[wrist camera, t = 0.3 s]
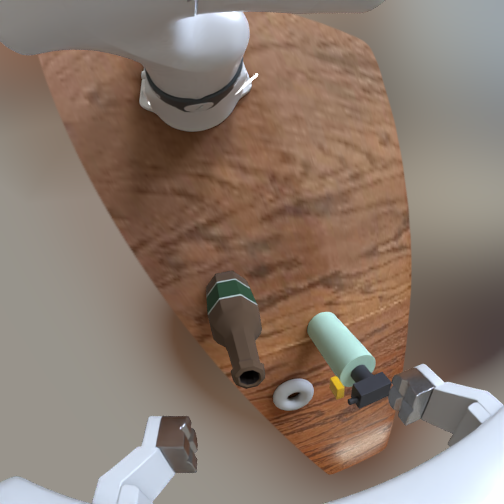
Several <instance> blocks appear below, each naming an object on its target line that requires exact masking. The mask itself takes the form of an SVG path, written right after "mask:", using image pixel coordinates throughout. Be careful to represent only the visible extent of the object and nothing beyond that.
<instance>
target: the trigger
mask: <svg viewBox="0 0 504 504" xmlns="http://www.w3.org/2000/svg"><path fill="white" fill-rule="evenodd" d="M330 389H331V391H332V392H333V394H334V396H335V397H336V399H339V398H342V397H344V386H343V384H342V383H341V381H340V380H339V378H338V377H337V376H335V377H332V378H330Z"/></svg>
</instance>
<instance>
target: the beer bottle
mask: <svg viewBox="0 0 504 504" xmlns="http://www.w3.org/2000/svg"><path fill="white" fill-rule="evenodd" d="M206 295H207V311H208V318H209V323H210V327H211V331H212V335H213V338H214V340H215V341H216V342H217V343H218V344H220V345H222V346H224V347H226V349H227V351H228V354H229V357H230V361H231V364H232V367H233V369H232V370H231V374H232V378H233V381H234V382H235V384H236V385H238V386H241V387H243V388H246V389H247V388H251V387H256V386H258V385H259V384H260V383H261V382H262V381H263V380H264V379H265V369H264V364H262V363H260V360H259V356H258V352H257V348H256V343H255V340H256V339H257V338H258V337H259V335H260V334H261V330H262V327H261V320H260V314H259V309H258V305H257V303H256V301H255V299H254V296H253V294H252V292H251V290H250V287H249V285H248V283H247V281H246V279H244V278H243V277H241V276H240V275H238V274H236V273H235V272H233V271H228V272H223V273H217V274H215V276H214V277H213V278H212V280H211V281H210V283H209V284H208V285H207V287H206Z"/></svg>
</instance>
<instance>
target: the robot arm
mask: <svg viewBox="0 0 504 504" xmlns="http://www.w3.org/2000/svg"><path fill="white" fill-rule="evenodd" d="M384 1H385V0H0V41H1V42H2V43H3V44H4V45H5V46H6V47H8V48H9V49H11V50H13V51H15V52H17V53H19V54H22V55H35V54H40V53H45V52H51V51H59V50H93V51H100V52H105V53H110V54H114V55H118V56H122V57H125V58H128V59H131V60H134V61H137V62H139V63H141V64H142V65H143V67H144V71H142V74H141V78H142V84H141V91H140V99H139V103H140V105H141V107H142V108H144V109H146V110H149V111H151V112H154V113H156V114H157V115H158V116H159V117H160V118H161V119H162V120H163V121H164V122H165V123H166V124H168V125H169V126H171V127H173V128H176V129H178V130H182V131H190V132H194V131H202V130H206V129H209V128H212V127H214V126H216V125H218V124H220V123H221V122H222V121H224V120H225V119H226V118H227V117H228V116H229V115H230V114H231V112H232V111H233V109H234V107H235V106H236V104H237V102H238V100H239V99H240V98H241V97H243V96H244V95H245V94H247V93H248V92H249V91H250V90H251V87H252V83H251V81H252V80H253V79H254V78H256V77H257V76H258V74H256V75H254V76H253V77H252V78H251V79H250V78H249V75H248V73H247V71H246V68H245V66H244V63H243V55H244V52H245V50H246V47H247V44H248V41H249V25H248V22H247V19H246V17H245V15H244V14H243V12H278V13H292V14H309V13H364V12H368V11H370V10H372V9H374V8H376V7H377V6H379V5H380V4H381V3H383V2H384ZM392 384H393V386H392V388H391V389H390V390H389V394H388V398H389V403H390V405H391V407H392V408H393V409H394V410H396V411H399V413H398V416H399V418H400V419H401V420H402V422H403V423H404V424H405V425H408V424H410V423H412V422H415V421H417V420H419V419H422V420H424V421H426V422H428V423H430V424H432V425H434V426H436V427H439V428H441V429H443V430H445V431H448V432H450V433H452V434H453V435H452V437H451V438H450V440H449V442H448V445H449V446H450V447H449V448H448V449H446V450H445V451H443V452H441V453H440V454H438V455H436V456H435V457H433V458H431V459H430V460H428V461H426V462H424V463H422V464H421V465H419V466H417V467H415V468H413V469H411V470H409V471H407V472H405V473H403V474H401V475H399V476H397V477H395V478H393V479H390V480H388V481H386V482H383V483H381V484H379V485H377V486H374V487H372V488H369V489H366V490H364V491H361V492H358V493H355V494H352V495H349V496H346V497H343V498H340V499H337V500H334V501H330V502H327V503H323V504H504V405H502V403H500V402H499V401H498V400H497V399H496V398H495V397H494V396H493V395H492V394H490V393H489V392H488V391H484V390H479V389H475V388H471V387H467V386H462V385H458V384H454V383H451V382H445V383H444V382H443V381H442V380H441V379H440V378H439V377H438V376H437V375H436V374H435V373H434V372H433V371H432V370H431V369H430V368H428V367H427V366H426V365H425V364H421V365H419V366H416V367H414V368H411V369H409V370H407V371H404V372H401V373H399V374H396V375H394V377H393V379H392ZM197 446H198V445H197V437H196V433H195V430H194V429H193V428H191V420H190V418H189V417H188V416H150V417H149V418H148V421H147V425H146V429H145V433H144V437H143V441H142V445H141V447H137V448H135V449H134V450H133V451H132V452H131V453H130V454H129V455H127V456H126V457H125V458H124V459H122V460H121V461H120V462H119V463H118V464H116V465H115V466H114V467H113V468H111V469H110V470H109V471H108V472H106V473H105V474H104V475H103V476H101V477H100V478H99V480H98V484H97V487H96V490H95V494H94V497H93V501H92V504H153V503H152V501H153V500H154V499H155V498H156V497H157V496H158V494H159V493H160V492H161V491H162V489H163V488H164V487H165V486H166V485H167V483H168V482H169V481H170V480H171V478H172V477H173V476H174V475H175V473H194V472H197V458H196V456H195V453H196V452H197ZM0 504H91V503H87V502H84V501H80V500H77V499H74V498H71V497H68V496H65V495H62V494H60V493H57V492H54V491H52V490H49V489H47V488H44V487H42V486H40V485H37V484H35V483H33V482H31V481H29V480H27V479H25V478H22V477H19V476H14V477H11V478H8V479H6V480H4V481H2V482H0Z"/></svg>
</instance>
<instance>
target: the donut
mask: <svg viewBox="0 0 504 504" xmlns="http://www.w3.org/2000/svg"><path fill="white" fill-rule="evenodd" d="M295 392H300V393H299V394H298V395H297V396H295V397H292V398H287V397H288V396H289V395H290V394H292V393H295ZM313 392H314V389H313V386H312V384H311V383H310V382H308V381H307V380H304V379H292V380H288V381H286V382H284V383H282V384H281V385H280V386H278V388H277V389H276V390H275V392H274V395H273V402H274V404H275V405H276V407H278V408H280V409H281V410H286V411H289V410H296V409H299V408H301V407H303V406H304V405H306V404H307V403H308V402H309V401H310V400H311V398H312V396H313Z"/></svg>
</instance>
